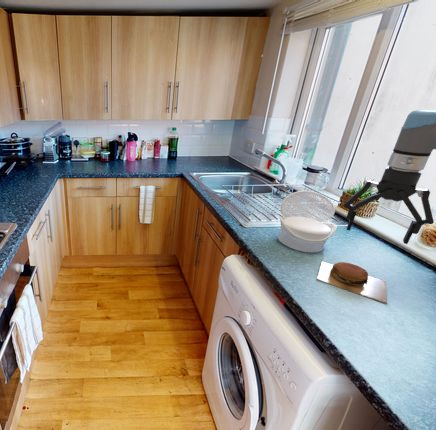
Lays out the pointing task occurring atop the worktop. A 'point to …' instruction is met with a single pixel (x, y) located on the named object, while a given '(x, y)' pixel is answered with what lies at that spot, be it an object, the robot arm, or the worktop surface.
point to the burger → (349, 273)
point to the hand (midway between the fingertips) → (375, 235)
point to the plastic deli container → (306, 222)
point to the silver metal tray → (371, 290)
